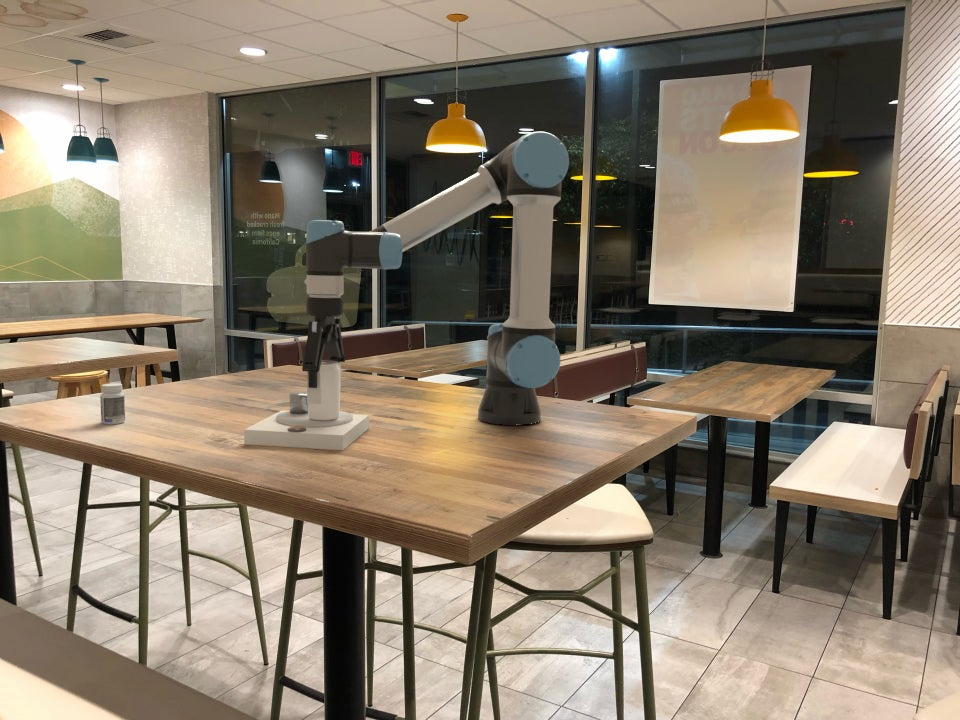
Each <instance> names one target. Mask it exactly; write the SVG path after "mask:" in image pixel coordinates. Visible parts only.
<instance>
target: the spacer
mask: <svg viewBox="0 0 960 720" xmlns="http://www.w3.org/2000/svg"><path fill="white" fill-rule="evenodd" d="M289 411H290V413H292V414H307V413H308V403H307V391H305V392H304V391H302V392H301V391H299V392H298V391H296V392H291V393H289Z"/></svg>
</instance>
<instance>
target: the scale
mask: <svg viewBox="0 0 960 720" xmlns="http://www.w3.org/2000/svg"><path fill="white" fill-rule="evenodd" d="M369 427H370V415H369V414H357V413H356V414H355V413H350V412H347V411H344V410H340V416H339V418H338V419H337V420H333V421H314V420H311V419H310V418H309V416H308V413H307V414H292V413H290V410H279V411H278V412H276V413H273V414H271V415H270V416H268V417H266V418H264V419H262V420H259V421H258V422H256V423H253V425H250V426H248V427H247V428H244V431H243V434H244V435H243V437H244V438H243V439H244V441H243V442H244V446H245V445H247V446H262V447H263V446H264V447H265V446H266V447H281V448H296V449H297V448H298V449H314V450H315V449H316V450H328V451H329V450H333V451H344V450H346V448H347V447H349V446H350V445H351V444H352V443H353V442H354V441H356V440H357V439H358V438H359V437H361V436H362V435H363V434H364V433H365V432H366V431H367V430H369V429H370V428H369Z"/></svg>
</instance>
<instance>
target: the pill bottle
mask: <svg viewBox="0 0 960 720" xmlns="http://www.w3.org/2000/svg"><path fill="white" fill-rule="evenodd" d="M122 391H123V384H122V383H119V382H118V383H116V382H114V383H104V384H102V385H101V392H102V393H101V394H100V397H99V398H100V400H99V401H100V420H101V423H102V424H103V425H119V424H122V423H125V422H126V404H125V400H126V399H125V393H124V392H122Z"/></svg>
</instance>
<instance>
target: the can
mask: <svg viewBox="0 0 960 720" xmlns="http://www.w3.org/2000/svg"><path fill="white" fill-rule="evenodd" d="M319 371H321V404H309V403H308V416H309V418H310V419H311V420H314V421H333V420H337V419H338V418H339V416H340V411H341V410H340V409H341V407H340V406H341V402H340V401H341V392H340V368H339V366H338V362H337V361H331V360H329V359H325V360H323V359H322V362H321V366H320V370H319Z"/></svg>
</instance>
